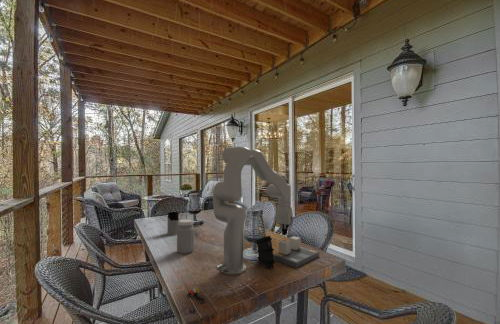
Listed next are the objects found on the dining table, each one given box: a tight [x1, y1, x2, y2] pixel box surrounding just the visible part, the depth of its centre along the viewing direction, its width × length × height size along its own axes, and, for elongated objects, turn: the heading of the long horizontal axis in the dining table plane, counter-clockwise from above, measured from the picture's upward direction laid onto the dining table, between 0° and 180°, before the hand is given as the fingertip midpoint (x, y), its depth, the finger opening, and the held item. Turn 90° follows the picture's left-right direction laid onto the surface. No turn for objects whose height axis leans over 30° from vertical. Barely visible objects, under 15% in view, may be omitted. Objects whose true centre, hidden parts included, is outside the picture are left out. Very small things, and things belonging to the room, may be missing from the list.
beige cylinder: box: [289, 235, 302, 250], centre depth 144 cm, size 4×4×6 cm
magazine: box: [255, 235, 276, 270], centre depth 128 cm, size 4×13×15 cm, turn 26°
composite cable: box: [186, 286, 206, 305], centre depth 95 cm, size 10×5×2 cm, turn 31°
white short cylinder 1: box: [278, 239, 291, 255], centre depth 136 cm, size 4×4×6 cm
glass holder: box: [166, 211, 188, 236], centre depth 183 cm, size 9×14×15 cm, turn 115°
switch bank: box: [273, 246, 320, 268], centre depth 137 cm, size 22×15×3 cm
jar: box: [176, 218, 195, 255], centre depth 145 cm, size 10×10×18 cm
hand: (284, 234), depth 150 cm, fingers closed
